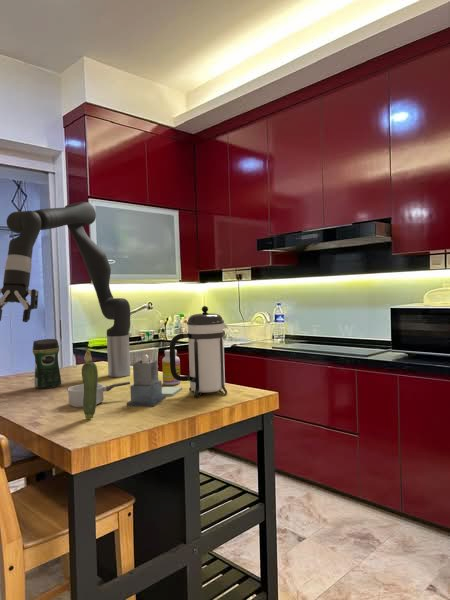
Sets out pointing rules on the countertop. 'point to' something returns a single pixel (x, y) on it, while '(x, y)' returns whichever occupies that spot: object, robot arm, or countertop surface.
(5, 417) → the countertop surface
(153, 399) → the grey peg stand
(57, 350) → the coffee jar
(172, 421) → the countertop surface
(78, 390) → the saucepan
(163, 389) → the pad
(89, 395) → the vegetable
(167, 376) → the supplement bottle
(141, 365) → the collar
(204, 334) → the coffee press
